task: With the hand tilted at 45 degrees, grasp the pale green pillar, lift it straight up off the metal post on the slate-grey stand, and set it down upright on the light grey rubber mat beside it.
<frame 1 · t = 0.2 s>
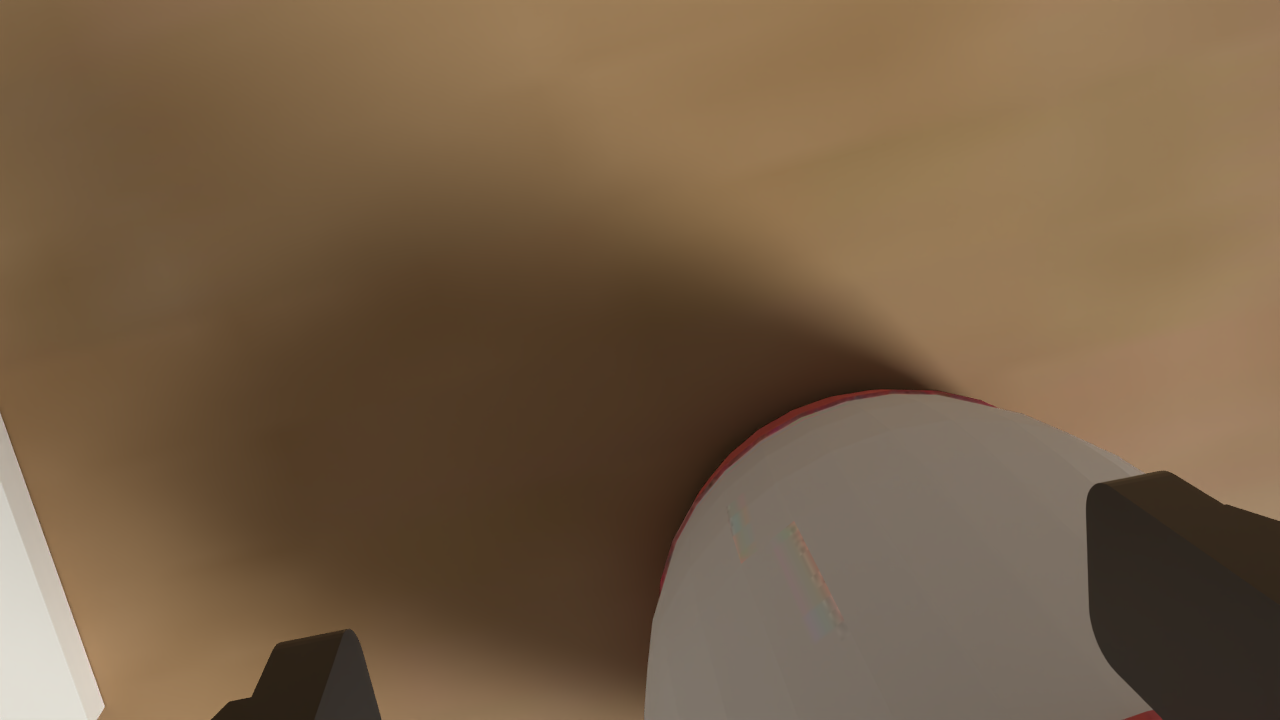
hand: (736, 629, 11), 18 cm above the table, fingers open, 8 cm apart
citrus juicer: (878, 559, 32), on the table
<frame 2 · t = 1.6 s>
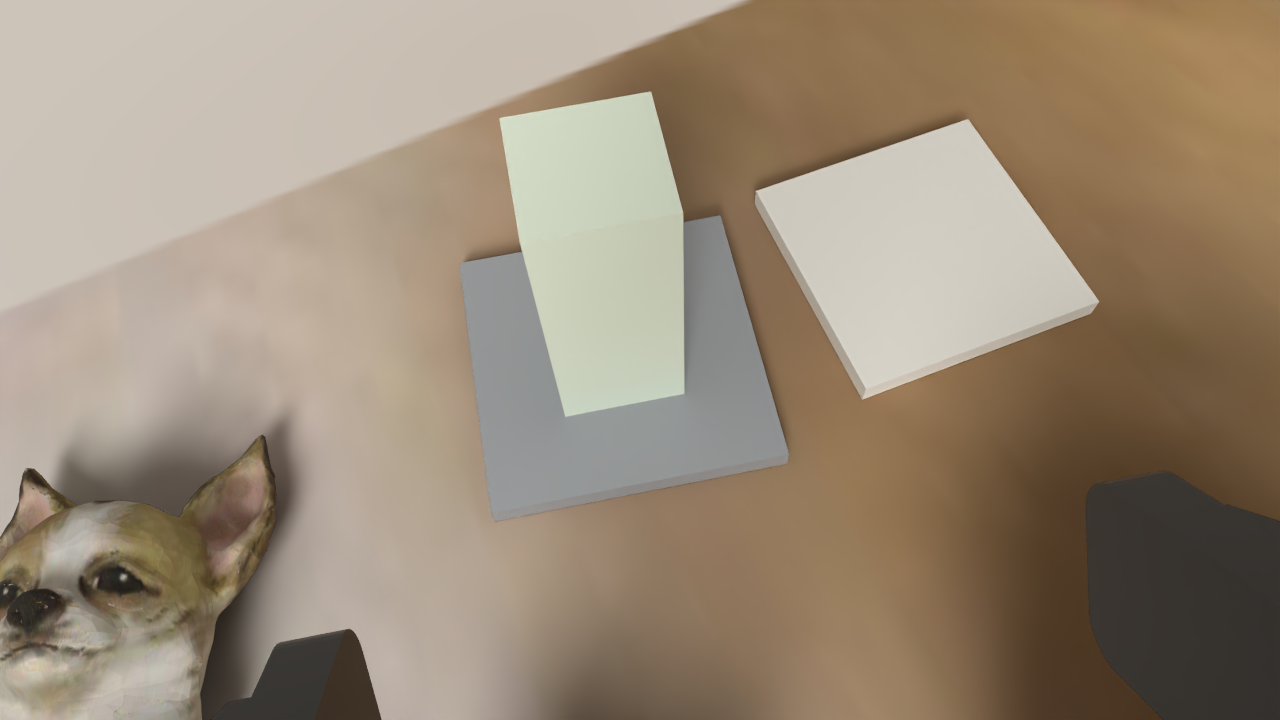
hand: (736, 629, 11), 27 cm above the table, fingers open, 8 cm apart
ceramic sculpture: (158, 651, 38), on the table
post stand: (615, 364, 43), on the table
pale green pillar: (614, 353, 42), point 1 cm above the table, touching post stand
mat: (916, 256, 45), on the table
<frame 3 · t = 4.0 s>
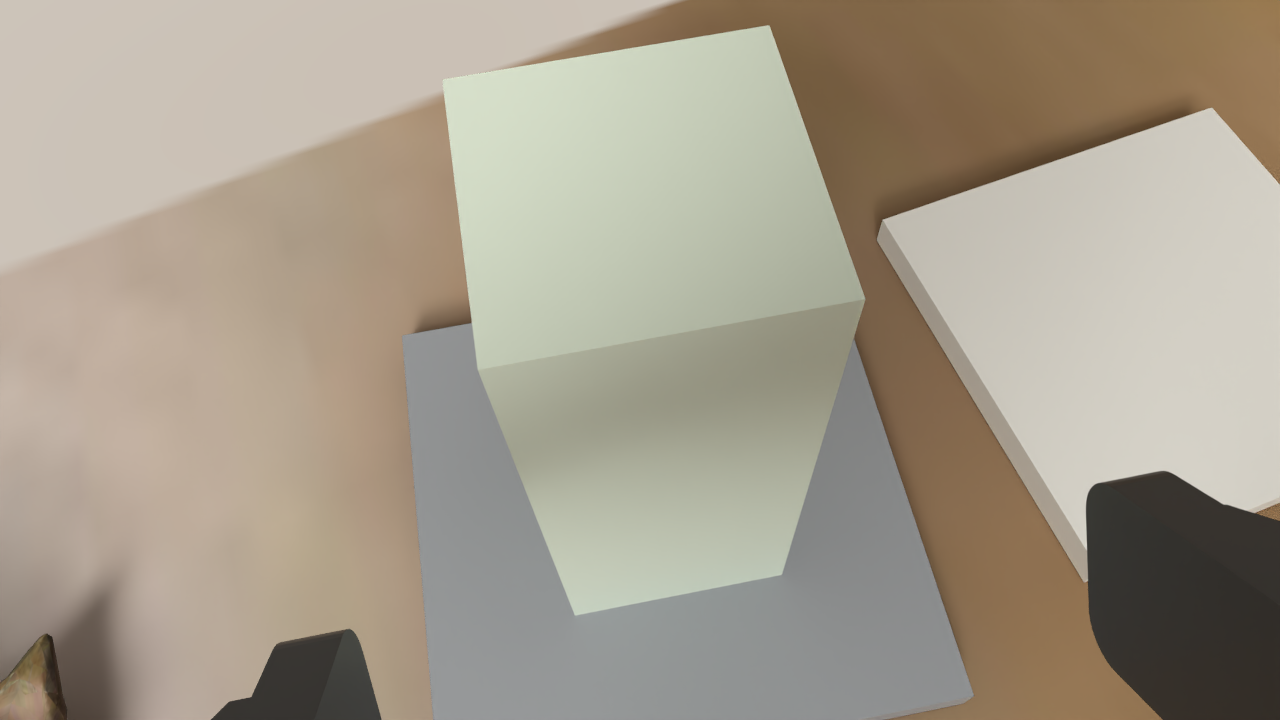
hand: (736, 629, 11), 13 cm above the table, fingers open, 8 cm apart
post stand: (659, 510, 25), on the table
pale green pillar: (658, 497, 25), point 1 cm above the table, touching post stand
mat: (1147, 329, 27), on the table
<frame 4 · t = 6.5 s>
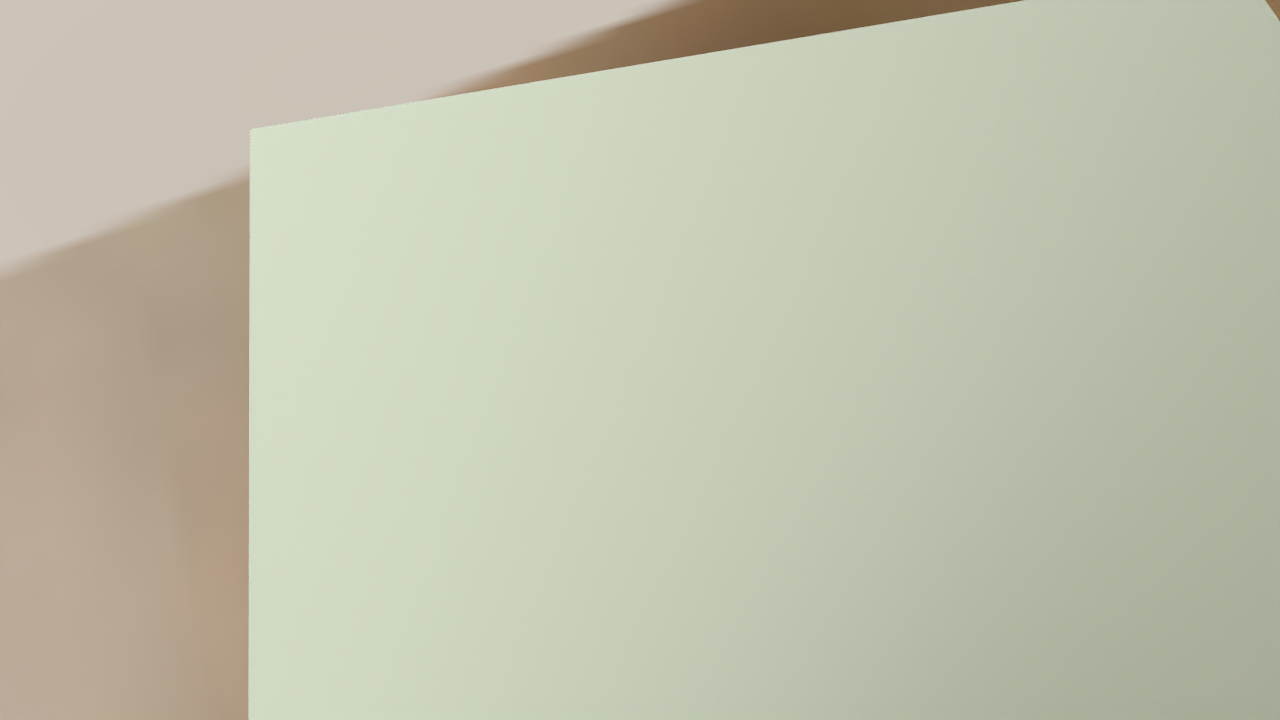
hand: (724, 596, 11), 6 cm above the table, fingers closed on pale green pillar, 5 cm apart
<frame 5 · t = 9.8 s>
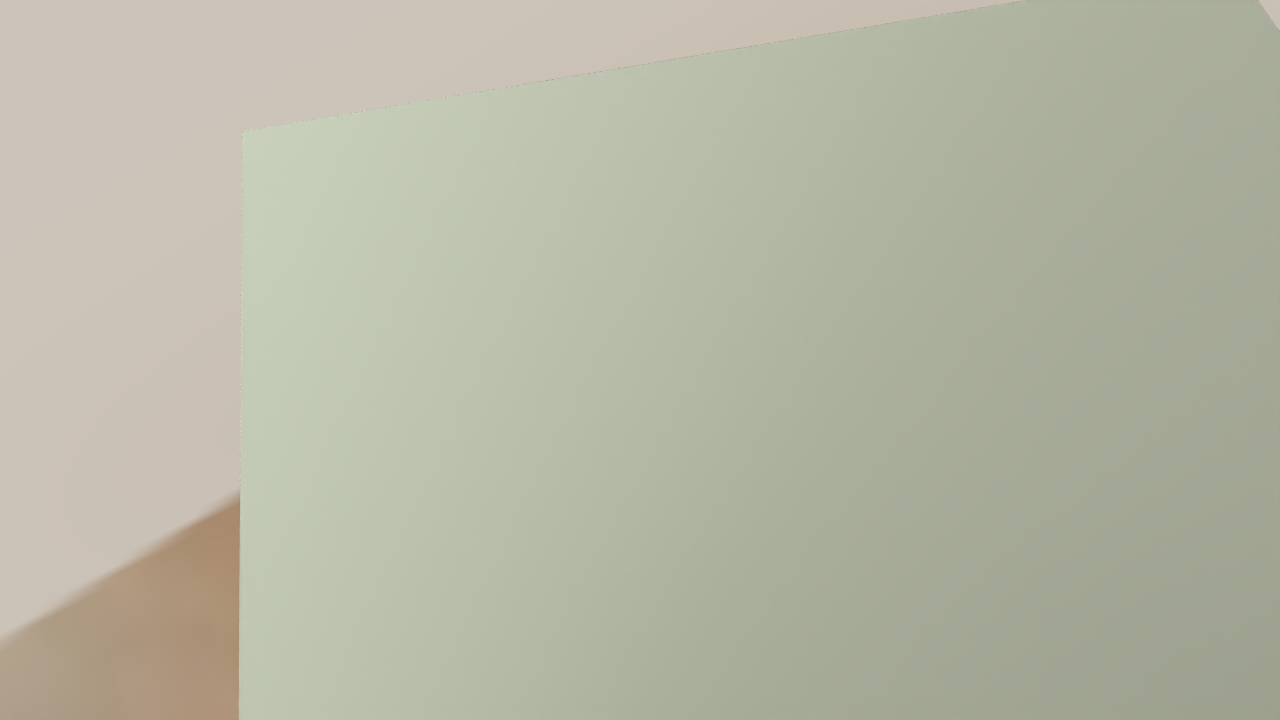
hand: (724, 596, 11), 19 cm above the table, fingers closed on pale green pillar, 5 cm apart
when the fingers open (7 cm above the table, at t = 13.1 s): pale green pillar drops 1 cm, resting on mat.
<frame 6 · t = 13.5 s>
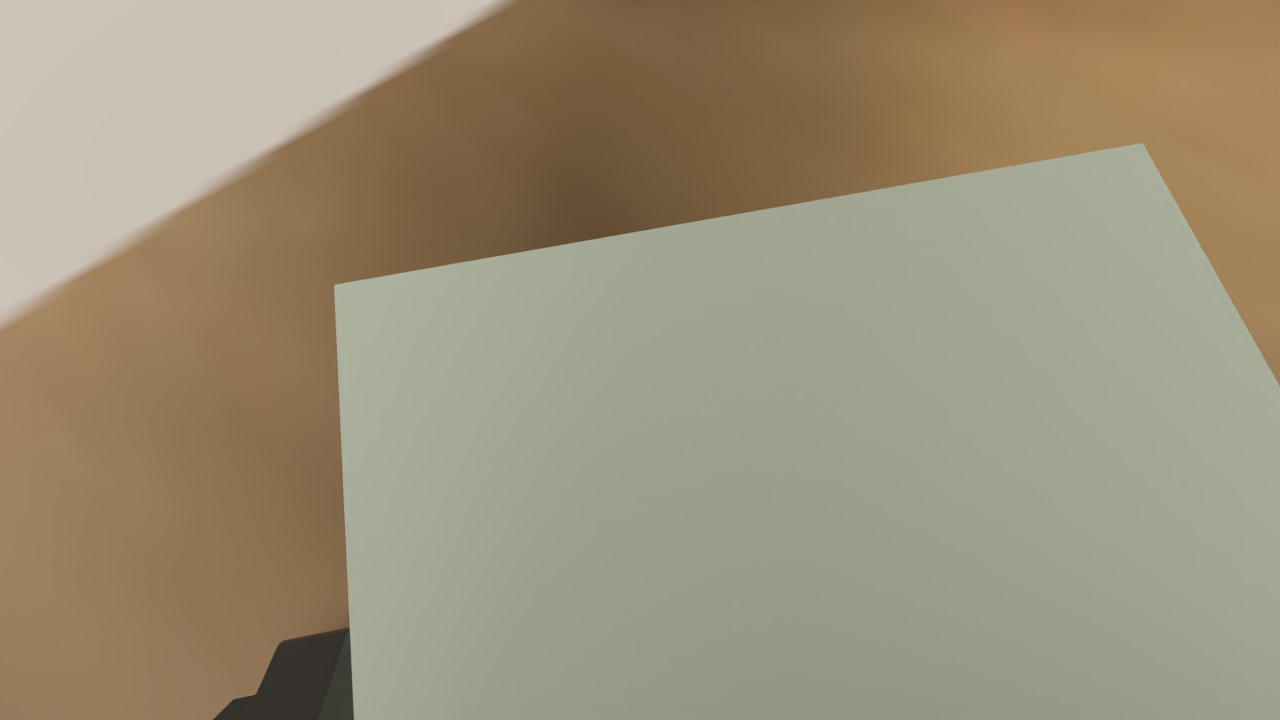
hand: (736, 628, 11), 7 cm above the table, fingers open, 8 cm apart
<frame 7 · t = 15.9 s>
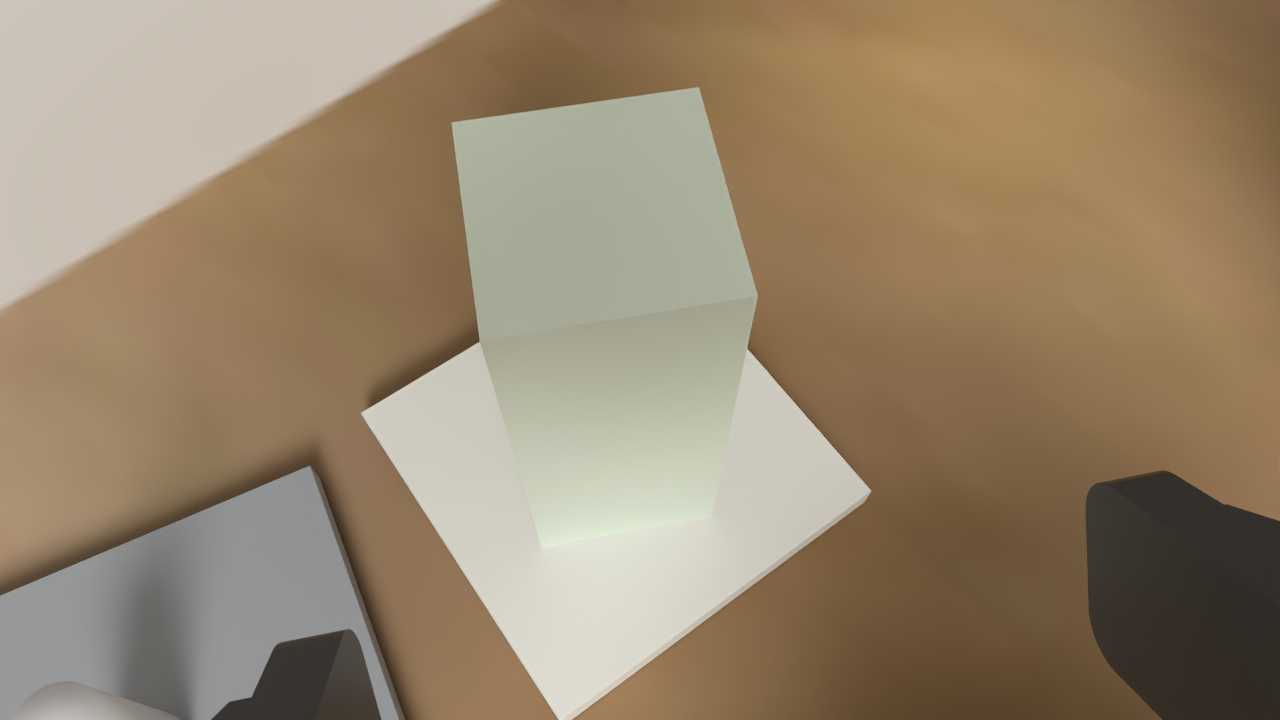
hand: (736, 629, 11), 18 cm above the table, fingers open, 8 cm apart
pale green pillar: (612, 452, 30), point 1 cm above the table, touching mat
mat: (612, 463, 31), on the table
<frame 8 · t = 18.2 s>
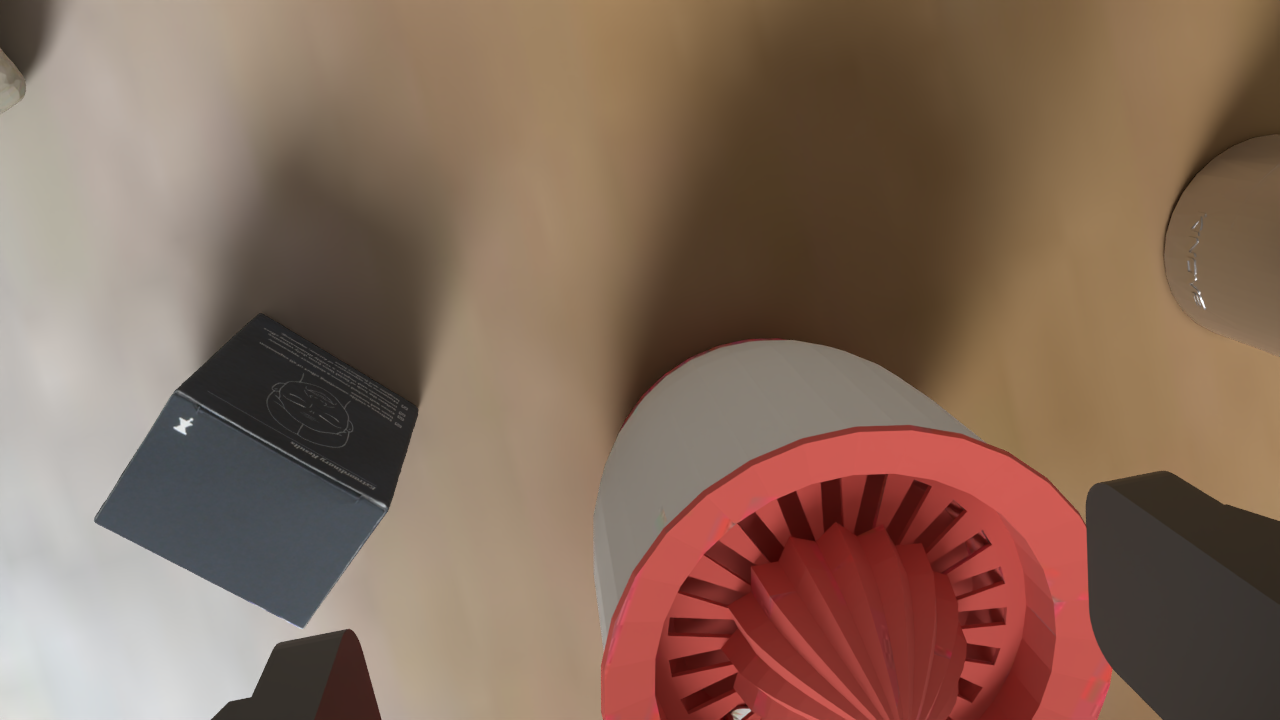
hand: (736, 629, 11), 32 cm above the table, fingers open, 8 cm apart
citrus juicer: (739, 479, 46), on the table
box: (310, 410, 43), on the table
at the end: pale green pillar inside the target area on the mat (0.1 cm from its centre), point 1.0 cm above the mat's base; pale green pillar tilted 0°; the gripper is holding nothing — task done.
